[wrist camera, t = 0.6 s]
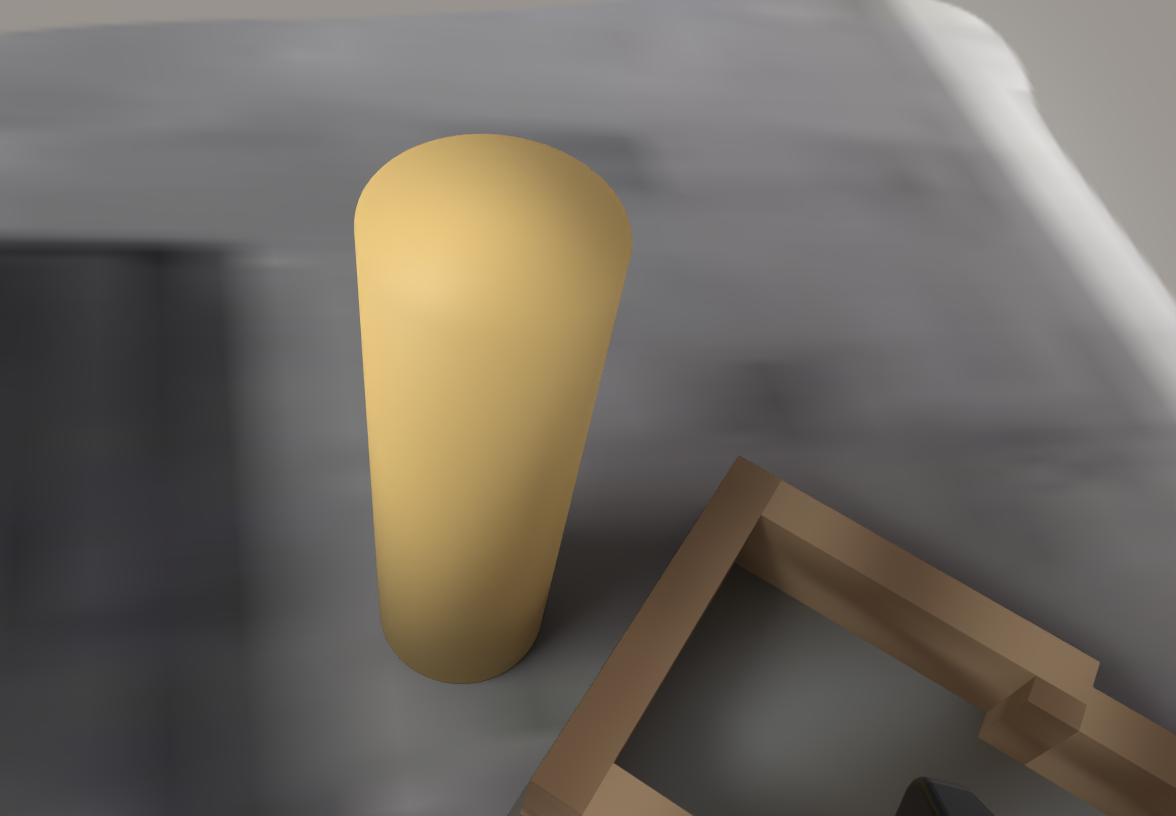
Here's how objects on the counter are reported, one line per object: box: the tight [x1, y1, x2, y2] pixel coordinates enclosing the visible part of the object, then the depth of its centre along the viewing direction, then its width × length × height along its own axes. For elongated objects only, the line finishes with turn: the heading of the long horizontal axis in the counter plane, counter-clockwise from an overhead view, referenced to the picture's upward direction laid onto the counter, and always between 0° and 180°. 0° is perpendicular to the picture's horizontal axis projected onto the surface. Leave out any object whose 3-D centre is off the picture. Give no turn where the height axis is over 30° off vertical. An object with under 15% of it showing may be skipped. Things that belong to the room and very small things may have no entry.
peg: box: [354, 134, 632, 684], centre depth 20 cm, size 4×4×13 cm
